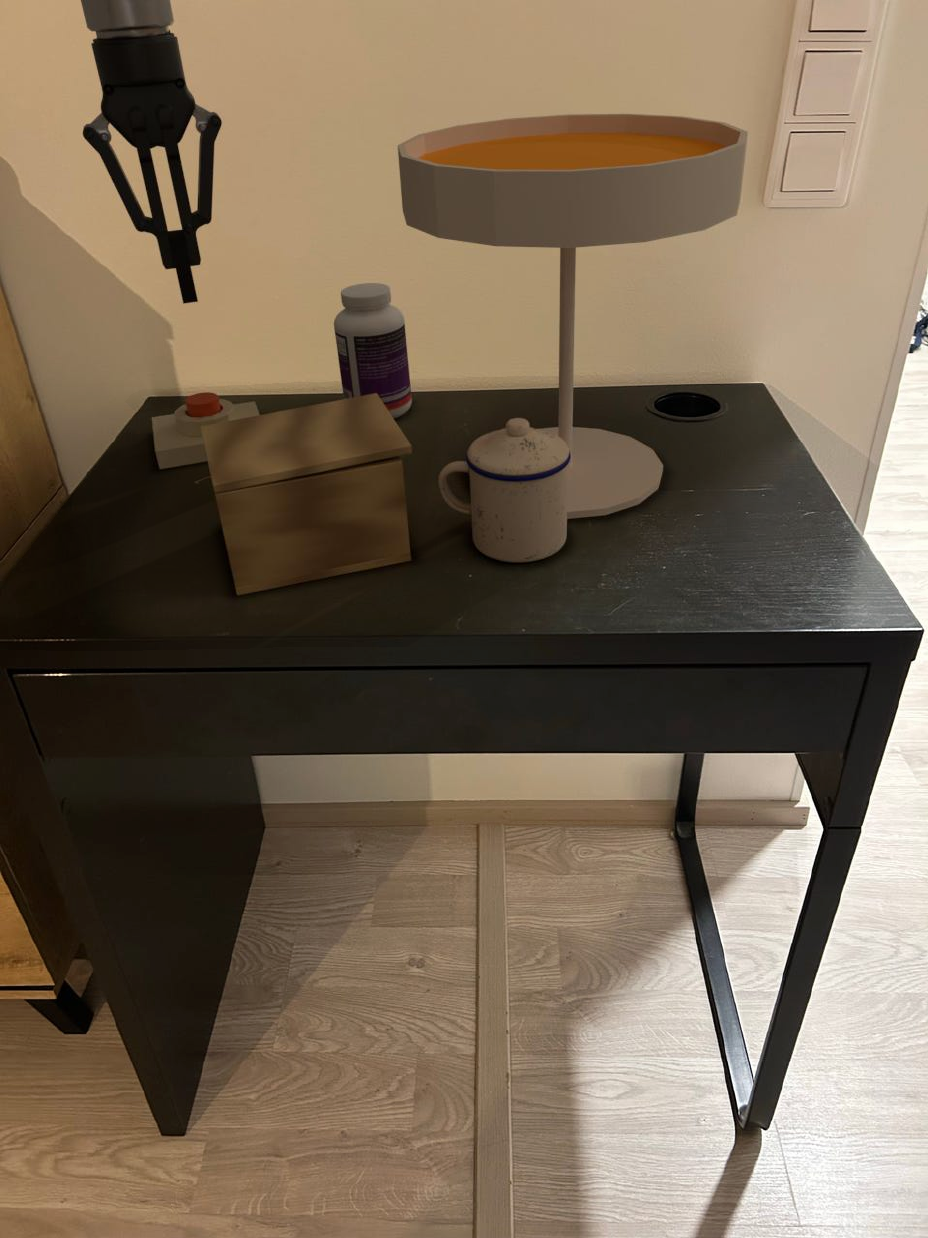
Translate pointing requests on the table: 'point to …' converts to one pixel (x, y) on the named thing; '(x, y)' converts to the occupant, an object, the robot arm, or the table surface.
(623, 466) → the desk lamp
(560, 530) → the teacup with lid
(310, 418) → the wooden box lid
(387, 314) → the pill bottle
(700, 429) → the table surface
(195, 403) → the button
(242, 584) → the lid box
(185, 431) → the button box
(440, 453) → the table surface
